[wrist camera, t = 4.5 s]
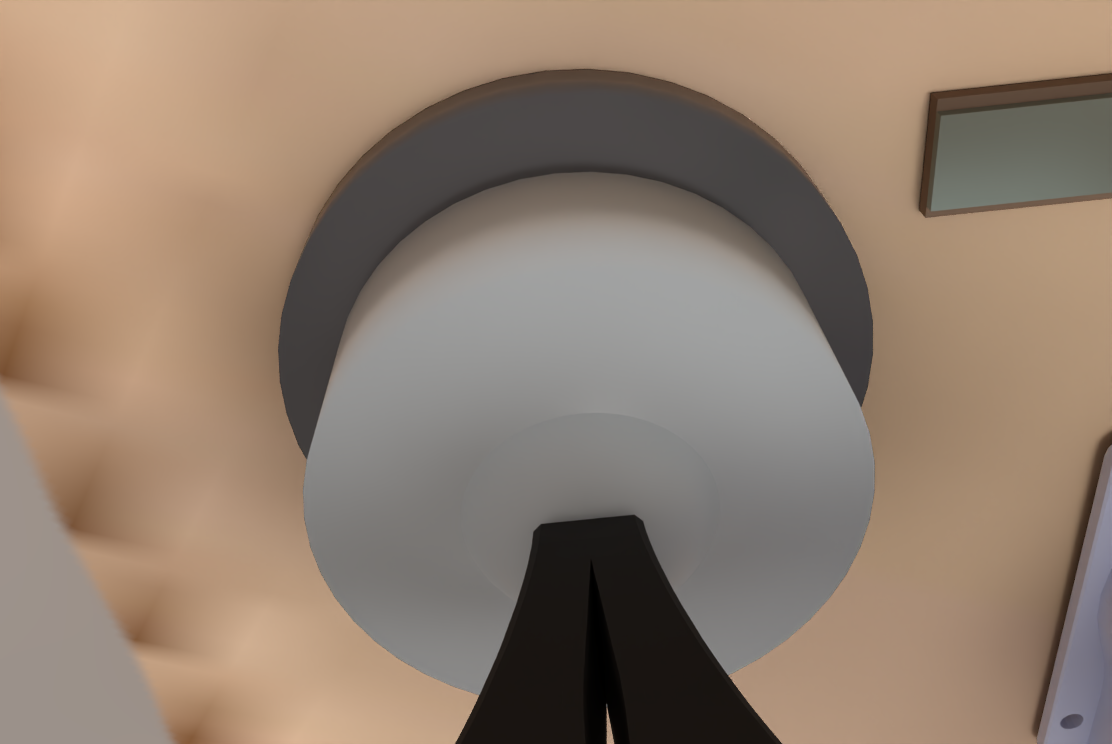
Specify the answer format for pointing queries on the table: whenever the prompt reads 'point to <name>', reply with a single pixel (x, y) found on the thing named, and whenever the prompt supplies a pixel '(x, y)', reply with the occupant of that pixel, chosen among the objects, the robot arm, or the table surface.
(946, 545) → the table surface
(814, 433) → the dome
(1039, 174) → the game lane
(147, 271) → the table surface
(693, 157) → the dark grey disc
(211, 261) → the table surface
